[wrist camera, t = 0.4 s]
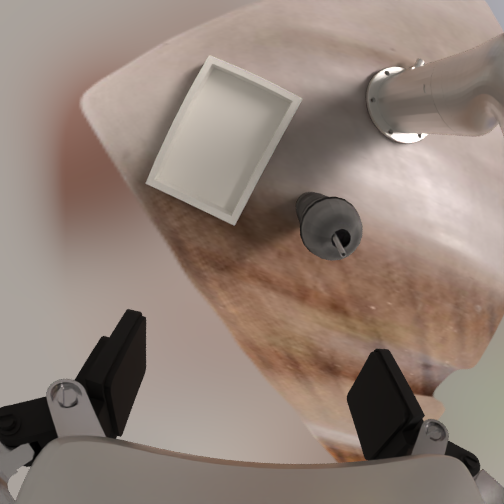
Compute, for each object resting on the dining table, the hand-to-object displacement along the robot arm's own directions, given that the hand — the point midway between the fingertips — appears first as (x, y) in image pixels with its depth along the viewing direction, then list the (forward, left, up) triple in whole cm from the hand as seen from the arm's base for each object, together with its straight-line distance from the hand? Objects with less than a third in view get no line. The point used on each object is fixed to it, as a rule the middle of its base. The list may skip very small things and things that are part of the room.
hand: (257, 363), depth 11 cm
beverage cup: (-3, +9, -35) cm, 36 cm away
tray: (-6, -7, -34) cm, 36 cm away
